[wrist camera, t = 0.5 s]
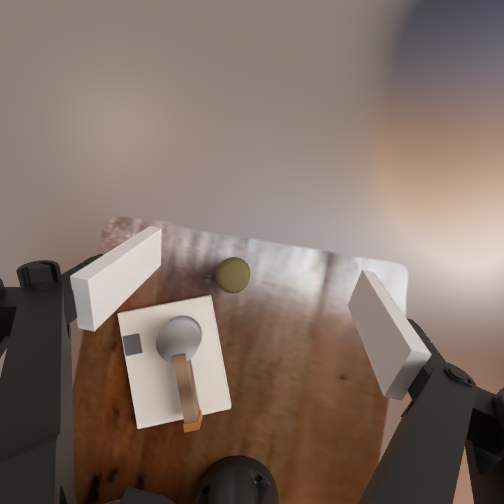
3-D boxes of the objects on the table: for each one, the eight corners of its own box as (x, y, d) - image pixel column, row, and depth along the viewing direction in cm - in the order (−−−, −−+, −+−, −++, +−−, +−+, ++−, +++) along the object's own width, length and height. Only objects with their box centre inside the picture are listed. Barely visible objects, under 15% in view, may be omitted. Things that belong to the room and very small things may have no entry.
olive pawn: (214, 282, 47) (206, 289, 36) (224, 252, 48) (219, 250, 37) (244, 292, 48) (245, 302, 37) (254, 263, 48) (258, 264, 37)
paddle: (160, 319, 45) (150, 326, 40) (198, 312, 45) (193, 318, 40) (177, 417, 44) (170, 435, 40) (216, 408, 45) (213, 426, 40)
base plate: (231, 403, 47) (230, 409, 45) (141, 423, 46) (137, 429, 44) (210, 294, 47) (209, 295, 46) (121, 312, 46) (117, 313, 45)
